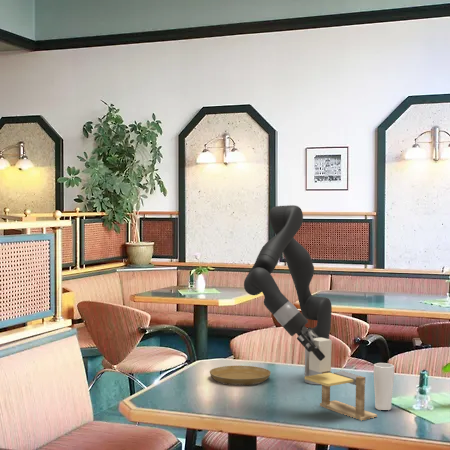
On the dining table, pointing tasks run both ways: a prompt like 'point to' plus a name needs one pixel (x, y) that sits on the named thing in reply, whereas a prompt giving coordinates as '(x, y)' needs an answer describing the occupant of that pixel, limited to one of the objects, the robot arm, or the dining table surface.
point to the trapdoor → (333, 378)
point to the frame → (344, 408)
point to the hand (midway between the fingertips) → (324, 356)
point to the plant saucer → (240, 375)
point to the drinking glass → (383, 385)
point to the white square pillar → (325, 348)
